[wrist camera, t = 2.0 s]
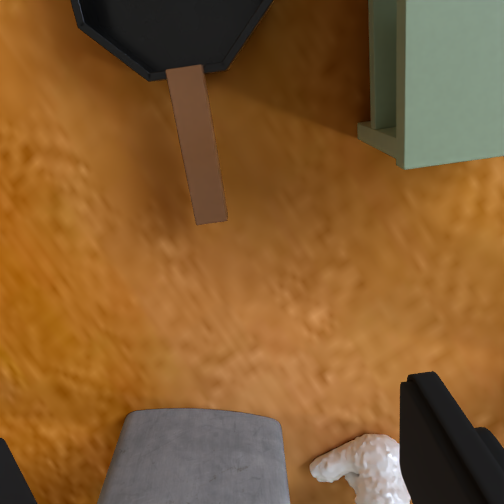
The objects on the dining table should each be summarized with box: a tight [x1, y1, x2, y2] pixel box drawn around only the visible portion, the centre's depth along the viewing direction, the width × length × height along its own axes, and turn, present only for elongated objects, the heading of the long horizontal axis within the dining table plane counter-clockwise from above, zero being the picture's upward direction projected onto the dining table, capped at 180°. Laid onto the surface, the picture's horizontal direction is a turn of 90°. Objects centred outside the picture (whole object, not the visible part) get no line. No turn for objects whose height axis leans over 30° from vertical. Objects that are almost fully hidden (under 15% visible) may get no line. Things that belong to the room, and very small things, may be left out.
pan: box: [71, 0, 274, 225], centre depth 27 cm, size 12×22×5 cm, turn 8°
